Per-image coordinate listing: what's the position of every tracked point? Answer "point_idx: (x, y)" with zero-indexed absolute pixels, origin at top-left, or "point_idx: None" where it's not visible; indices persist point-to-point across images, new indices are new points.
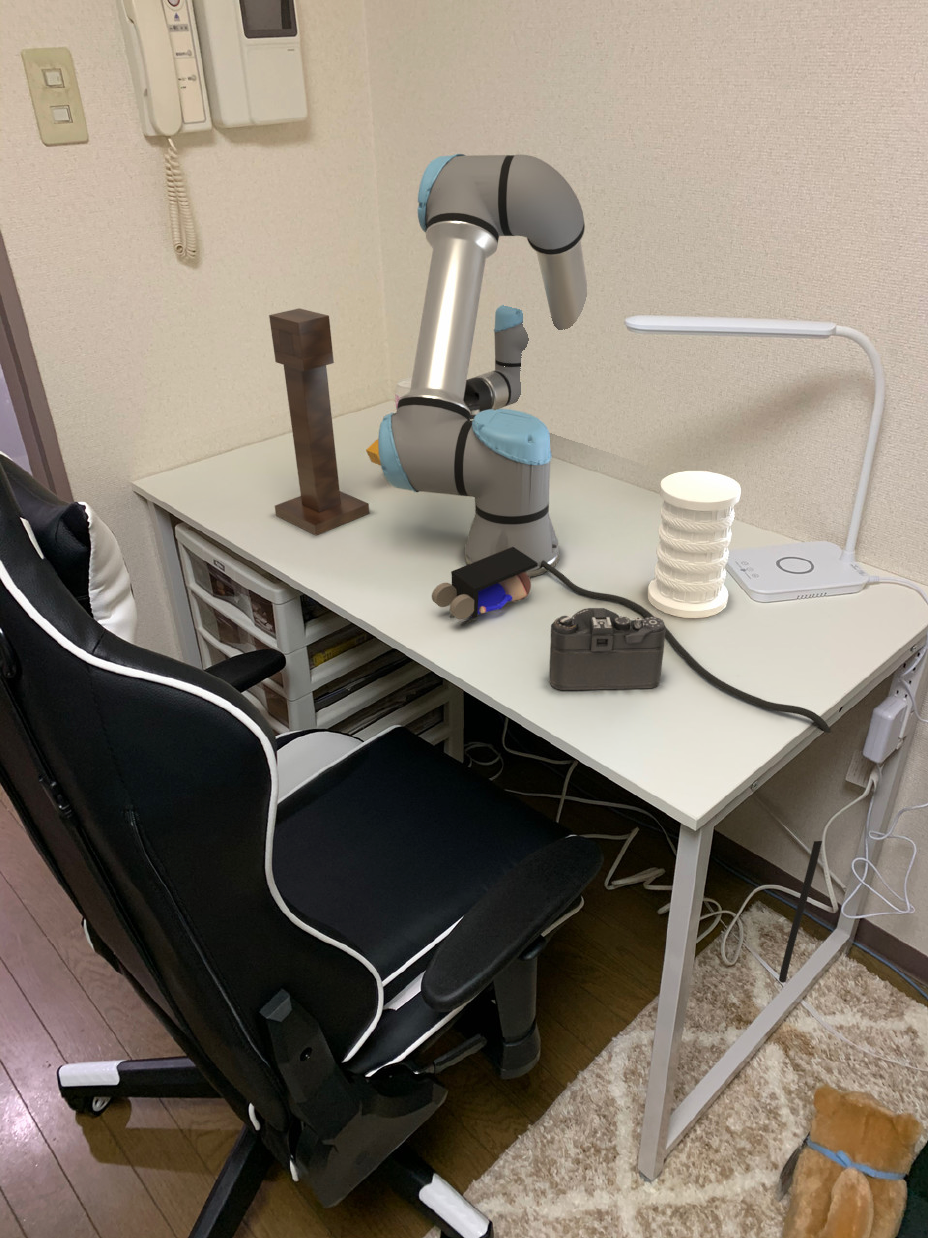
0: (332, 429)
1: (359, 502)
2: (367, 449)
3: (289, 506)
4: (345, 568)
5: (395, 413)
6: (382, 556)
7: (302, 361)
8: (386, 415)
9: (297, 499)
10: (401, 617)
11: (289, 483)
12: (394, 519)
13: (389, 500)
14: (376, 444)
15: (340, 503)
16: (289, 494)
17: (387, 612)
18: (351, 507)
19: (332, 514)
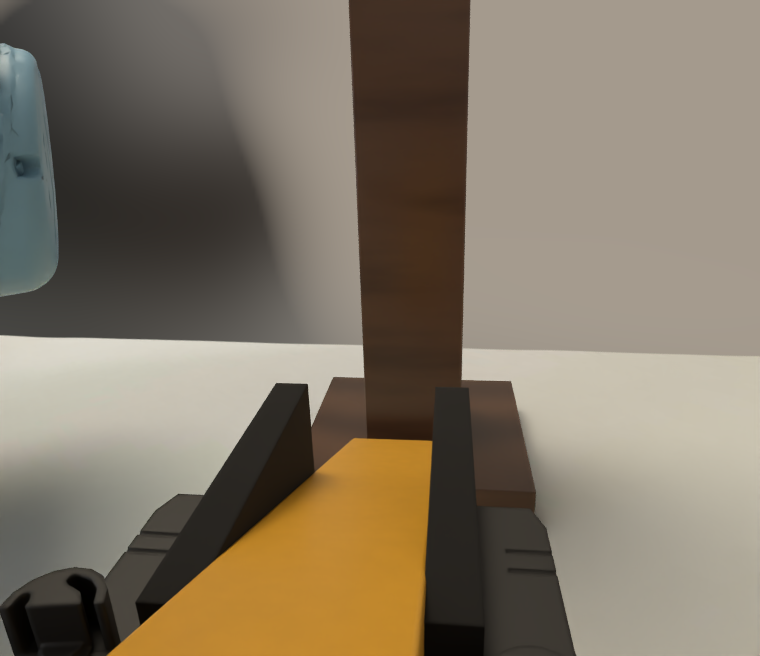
0: (356, 182)
1: None
2: (429, 441)
3: (475, 390)
4: (181, 375)
5: (457, 454)
6: (120, 416)
7: None
8: (21, 49)
9: (501, 412)
10: (6, 352)
11: (746, 516)
12: None
13: None
14: (405, 450)
15: None
16: (634, 475)
17: (37, 350)
18: (319, 446)
19: (337, 411)
